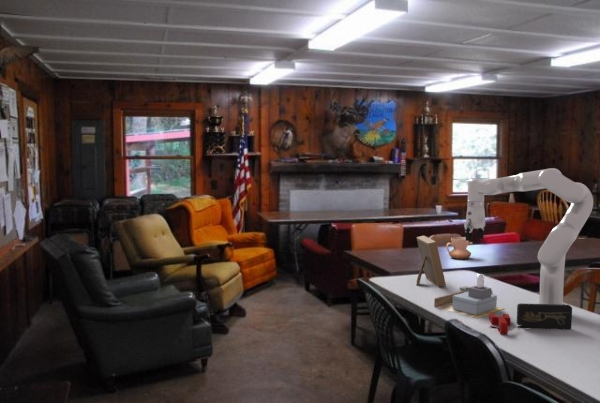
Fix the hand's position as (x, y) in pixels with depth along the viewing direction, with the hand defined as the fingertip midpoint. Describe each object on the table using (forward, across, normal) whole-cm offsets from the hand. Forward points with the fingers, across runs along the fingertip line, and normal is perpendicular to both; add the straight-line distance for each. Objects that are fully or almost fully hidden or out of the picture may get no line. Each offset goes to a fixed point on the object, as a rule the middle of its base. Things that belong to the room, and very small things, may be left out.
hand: (474, 239), depth 253 cm
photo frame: (+31, +14, +37) cm, 50 cm away
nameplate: (+30, -15, -42) cm, 54 cm away
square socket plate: (+28, -17, -11) cm, 35 cm away
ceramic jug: (+31, +90, +66) cm, 115 cm away
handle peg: (+22, -17, -14) cm, 31 cm away
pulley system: (+31, +10, +3) cm, 32 cm away
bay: (+30, -17, -9) cm, 36 cm away
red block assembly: (+31, -29, -31) cm, 52 cm away
